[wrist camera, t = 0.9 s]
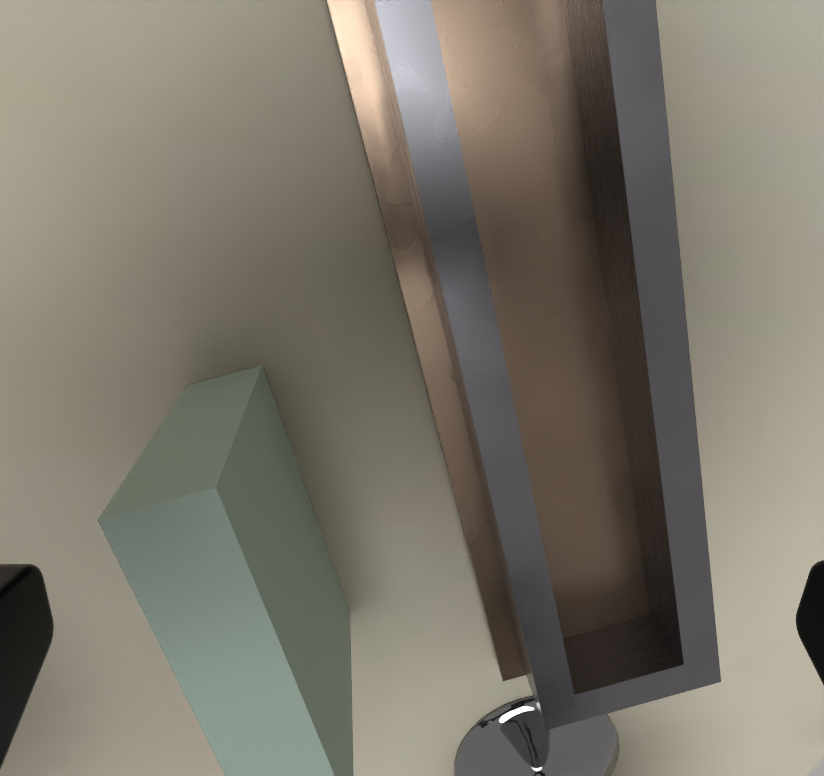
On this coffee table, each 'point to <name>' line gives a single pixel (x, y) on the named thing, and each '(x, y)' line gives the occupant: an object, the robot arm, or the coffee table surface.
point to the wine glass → (536, 745)
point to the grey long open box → (548, 326)
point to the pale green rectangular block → (239, 581)
